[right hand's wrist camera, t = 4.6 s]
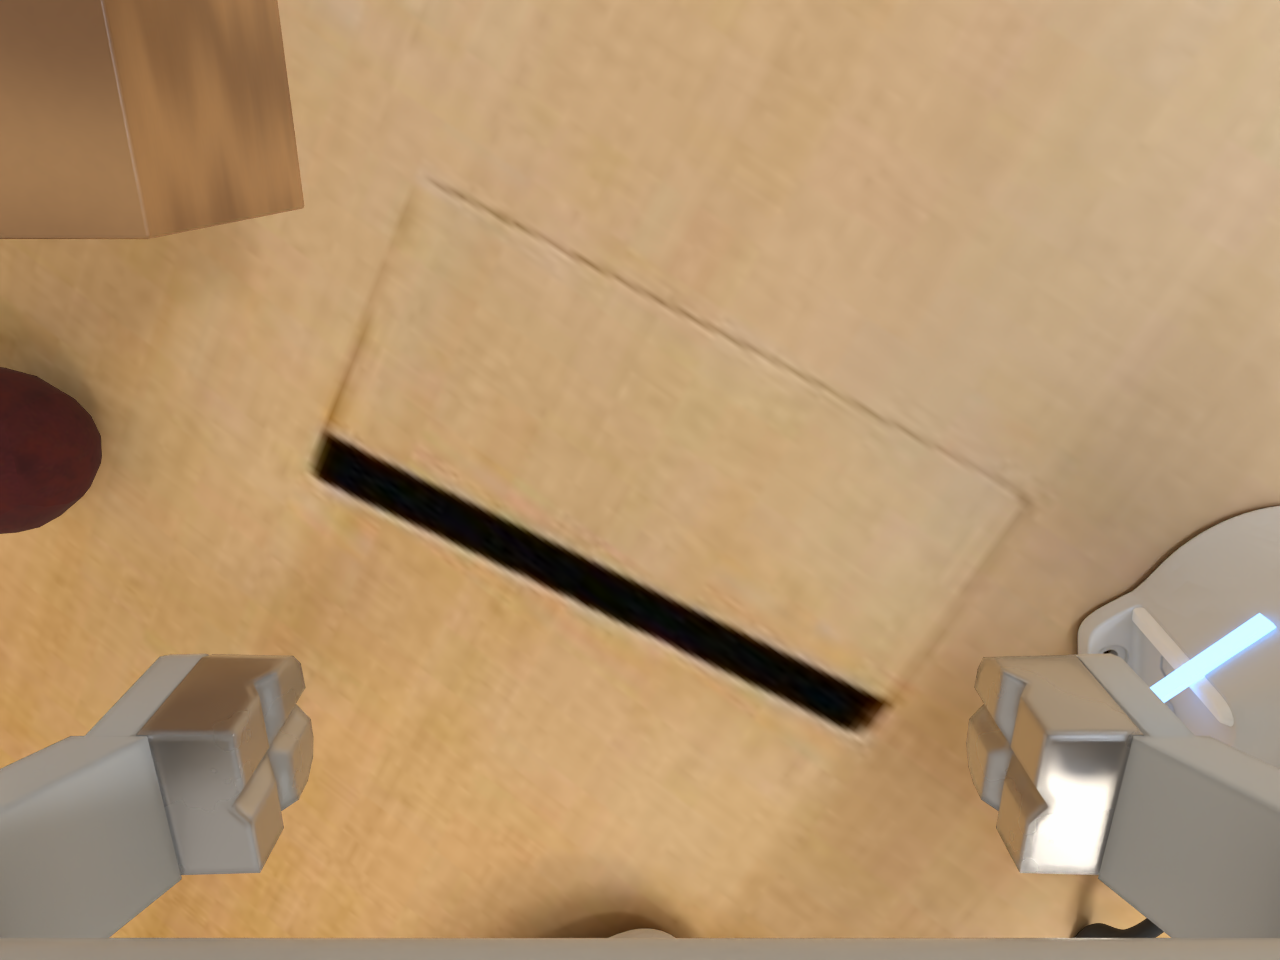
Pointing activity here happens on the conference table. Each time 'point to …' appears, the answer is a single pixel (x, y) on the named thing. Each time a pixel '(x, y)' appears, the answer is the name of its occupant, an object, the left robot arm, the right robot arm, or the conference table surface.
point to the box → (142, 117)
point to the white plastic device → (643, 934)
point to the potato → (42, 451)
